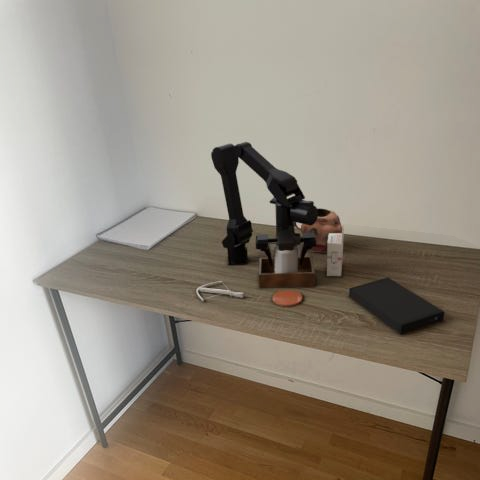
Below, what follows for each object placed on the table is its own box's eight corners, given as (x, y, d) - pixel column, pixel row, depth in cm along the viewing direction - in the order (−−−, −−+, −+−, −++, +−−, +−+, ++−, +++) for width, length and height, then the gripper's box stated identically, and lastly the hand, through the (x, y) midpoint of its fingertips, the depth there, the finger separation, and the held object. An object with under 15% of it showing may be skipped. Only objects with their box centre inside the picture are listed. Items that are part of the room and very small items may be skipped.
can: (300, 274, 154) (301, 240, 147) (293, 284, 148) (293, 249, 142) (279, 271, 157) (279, 237, 150) (271, 280, 151) (270, 246, 145)
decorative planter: (284, 250, 172) (284, 213, 164) (298, 238, 180) (298, 203, 173) (336, 258, 163) (338, 220, 155) (348, 245, 171) (350, 209, 164)
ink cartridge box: (327, 264, 159) (328, 223, 151) (341, 265, 158) (344, 224, 150) (325, 276, 152) (327, 233, 144) (341, 276, 151) (343, 234, 143)
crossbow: (188, 301, 145) (187, 296, 144) (207, 283, 154) (206, 278, 153) (234, 307, 138) (233, 301, 137) (251, 288, 148) (250, 282, 147)
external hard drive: (387, 285, 144) (388, 277, 142) (442, 320, 126) (444, 311, 124) (348, 297, 140) (349, 288, 138) (400, 335, 121) (401, 325, 120)
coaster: (272, 306, 138) (272, 305, 137) (272, 292, 145) (272, 290, 145) (303, 306, 137) (303, 304, 137) (301, 291, 145) (301, 289, 144)
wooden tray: (259, 288, 148) (258, 274, 145) (260, 270, 158) (259, 257, 156) (314, 286, 147) (314, 272, 144) (311, 269, 157) (311, 256, 154)
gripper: (253, 229, 136) (256, 277, 144) (318, 226, 134) (317, 275, 142) (254, 217, 145) (257, 262, 153) (315, 214, 144) (314, 260, 152)
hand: (286, 265), depth 150 cm, fingers open, 9 cm apart
